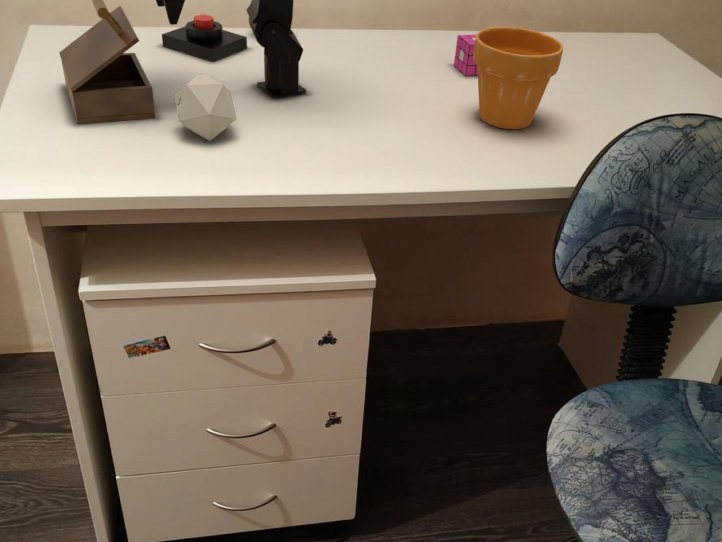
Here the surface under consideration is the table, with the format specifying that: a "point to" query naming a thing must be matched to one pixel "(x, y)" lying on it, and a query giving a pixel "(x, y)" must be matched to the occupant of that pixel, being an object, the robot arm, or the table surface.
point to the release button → (203, 22)
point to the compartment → (114, 93)
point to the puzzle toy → (465, 55)
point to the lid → (98, 45)
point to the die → (205, 107)
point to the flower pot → (513, 73)
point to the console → (204, 41)
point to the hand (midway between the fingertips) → (167, 15)
